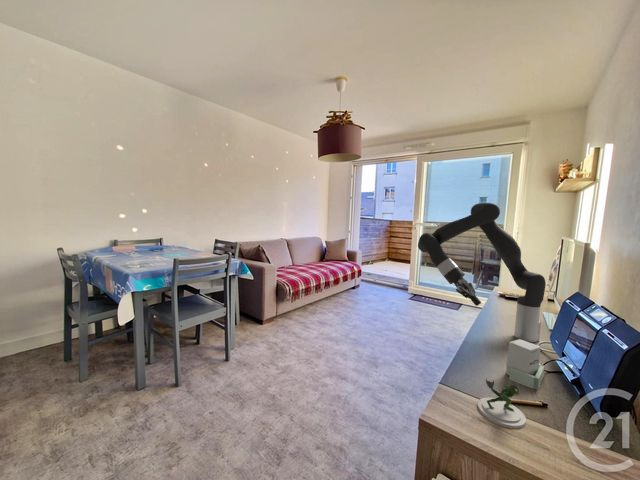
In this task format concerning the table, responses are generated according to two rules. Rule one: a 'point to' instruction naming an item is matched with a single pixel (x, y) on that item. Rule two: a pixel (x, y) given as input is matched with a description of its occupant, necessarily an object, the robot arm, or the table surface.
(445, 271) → the robot arm
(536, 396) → the table surface
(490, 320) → the table surface
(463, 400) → the table surface
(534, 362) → the supplement box
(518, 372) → the holder
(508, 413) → the monster figurine
